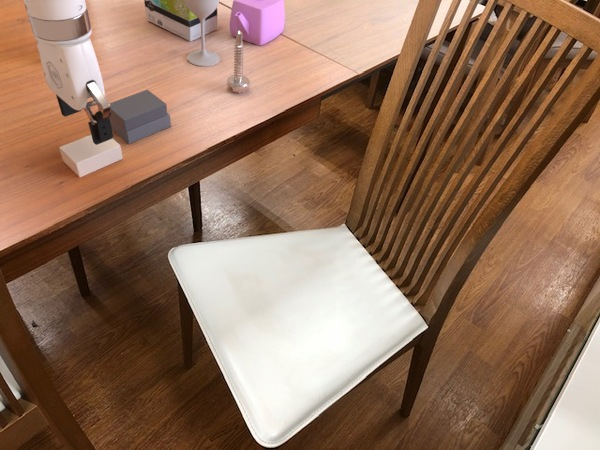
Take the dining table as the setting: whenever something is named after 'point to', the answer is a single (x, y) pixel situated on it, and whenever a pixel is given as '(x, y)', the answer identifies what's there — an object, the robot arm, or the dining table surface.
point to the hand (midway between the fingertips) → (87, 126)
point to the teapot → (257, 20)
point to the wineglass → (202, 32)
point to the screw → (238, 67)
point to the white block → (90, 155)
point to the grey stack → (139, 116)
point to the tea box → (178, 18)
